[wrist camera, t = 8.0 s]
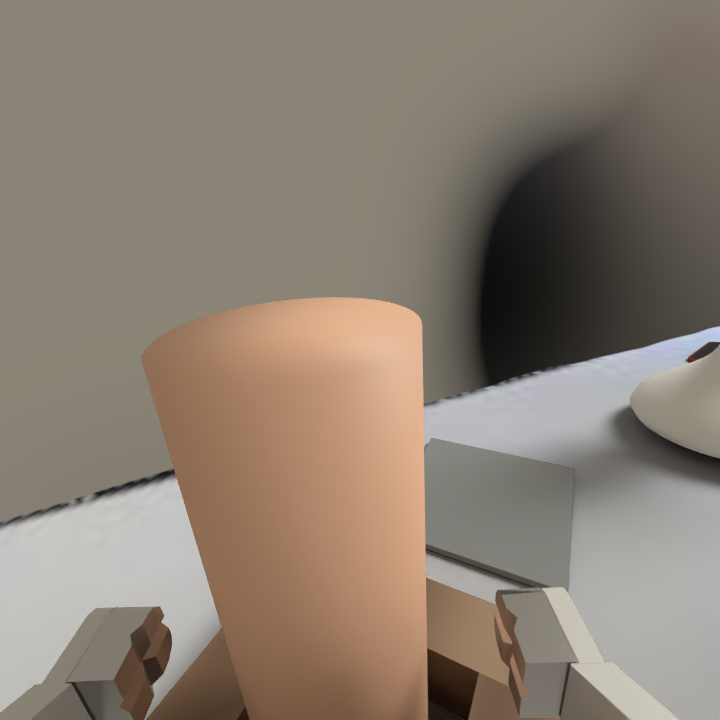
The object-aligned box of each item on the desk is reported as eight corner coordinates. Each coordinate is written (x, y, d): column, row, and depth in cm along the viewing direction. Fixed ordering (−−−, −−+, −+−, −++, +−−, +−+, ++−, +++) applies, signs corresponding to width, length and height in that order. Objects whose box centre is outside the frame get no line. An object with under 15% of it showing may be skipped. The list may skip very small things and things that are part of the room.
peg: (448, 736, 14) (455, 303, 8) (392, 954, 10) (330, 415, 4) (331, 670, 17) (271, 293, 11) (247, 827, 13) (76, 361, 7)
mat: (574, 473, 27) (574, 468, 27) (566, 598, 19) (567, 592, 19) (431, 442, 31) (431, 437, 31) (376, 531, 23) (376, 526, 23)
